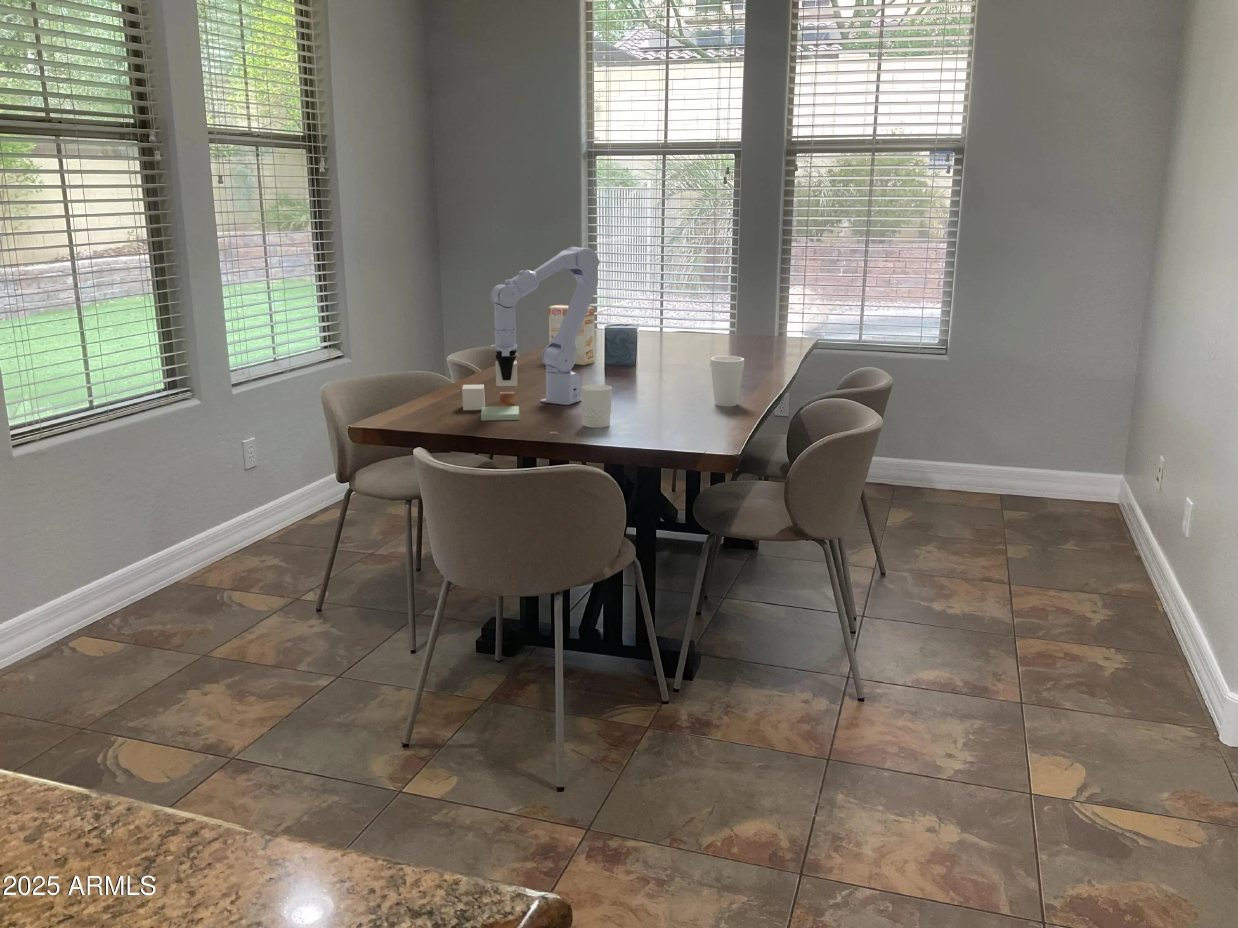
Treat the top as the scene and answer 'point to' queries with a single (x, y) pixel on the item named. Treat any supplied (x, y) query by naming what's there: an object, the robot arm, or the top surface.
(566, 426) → the top surface
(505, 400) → the orange brown block
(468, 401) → the cover
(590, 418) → the white cup
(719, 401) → the foam cup
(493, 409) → the coaster
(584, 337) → the coffeecake box
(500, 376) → the cream matte cube
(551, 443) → the top surface
